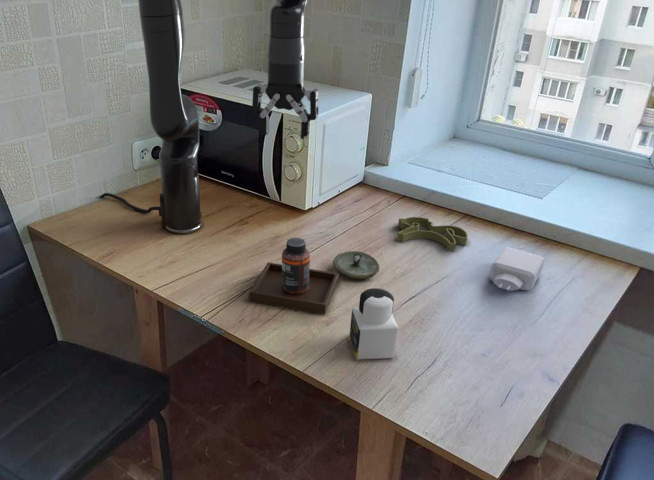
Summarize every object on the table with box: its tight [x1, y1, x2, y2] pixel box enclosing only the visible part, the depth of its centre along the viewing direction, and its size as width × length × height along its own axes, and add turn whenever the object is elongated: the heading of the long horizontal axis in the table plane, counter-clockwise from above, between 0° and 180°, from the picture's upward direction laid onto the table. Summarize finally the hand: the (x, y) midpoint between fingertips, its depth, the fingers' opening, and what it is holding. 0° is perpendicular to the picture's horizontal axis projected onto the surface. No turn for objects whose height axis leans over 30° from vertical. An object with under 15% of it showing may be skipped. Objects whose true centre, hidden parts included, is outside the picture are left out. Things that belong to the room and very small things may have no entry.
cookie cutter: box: [397, 216, 468, 252], centre depth 155 cm, size 18×12×2 cm, turn 66°
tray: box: [248, 262, 340, 315], centre depth 132 cm, size 16×13×2 cm
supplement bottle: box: [281, 237, 311, 294], centre depth 129 cm, size 6×6×11 cm
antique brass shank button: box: [332, 250, 380, 280], centre depth 139 cm, size 11×10×5 cm
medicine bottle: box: [348, 287, 399, 361], centre depth 112 cm, size 7×7×12 cm
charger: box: [488, 247, 545, 292], centre depth 135 cm, size 5×9×15 cm
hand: (284, 136), depth 134 cm, fingers open, 8 cm apart
